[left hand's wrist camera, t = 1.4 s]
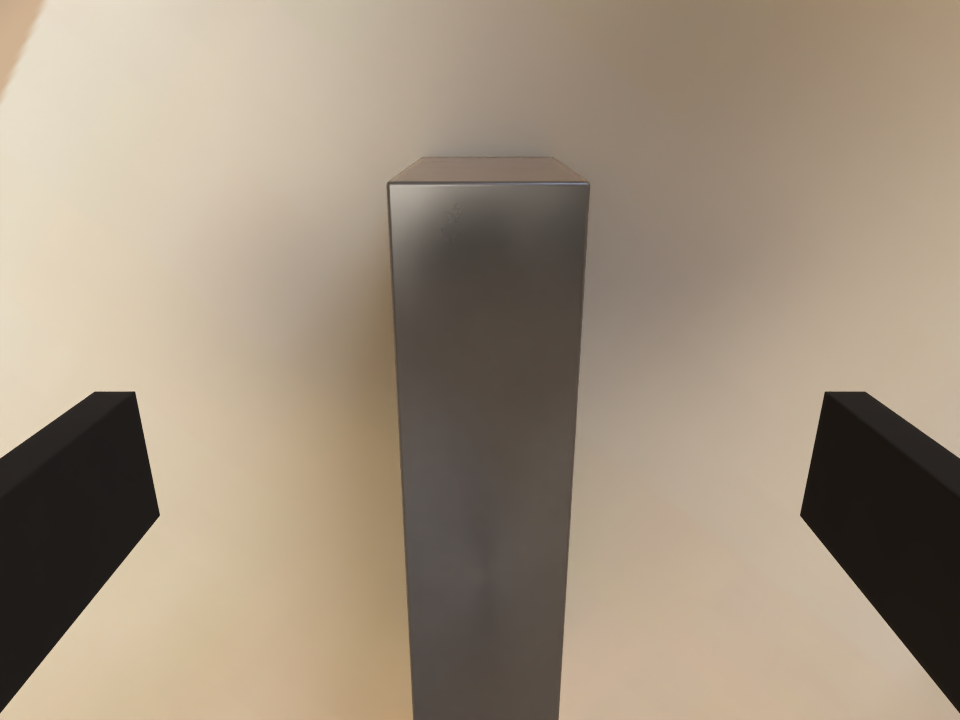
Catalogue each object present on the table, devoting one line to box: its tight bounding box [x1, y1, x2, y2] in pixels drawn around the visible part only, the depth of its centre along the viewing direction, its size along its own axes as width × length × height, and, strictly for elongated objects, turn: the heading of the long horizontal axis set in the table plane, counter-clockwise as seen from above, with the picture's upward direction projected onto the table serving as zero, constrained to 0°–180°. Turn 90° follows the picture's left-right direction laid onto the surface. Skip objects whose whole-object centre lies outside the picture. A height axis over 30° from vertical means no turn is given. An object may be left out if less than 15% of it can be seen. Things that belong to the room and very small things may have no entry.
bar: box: [387, 157, 590, 720], centre depth 23 cm, size 23×5×9 cm, turn 0°
